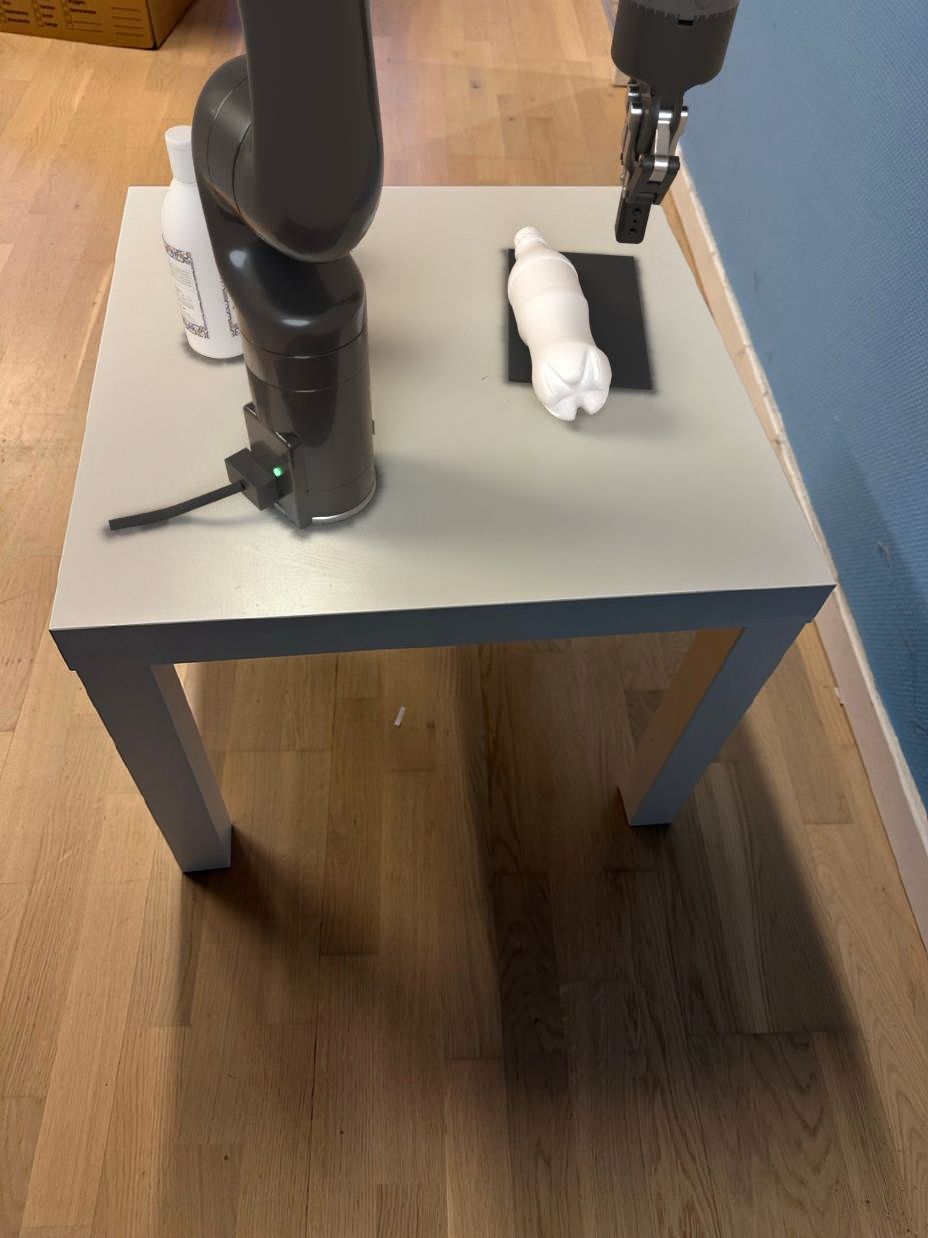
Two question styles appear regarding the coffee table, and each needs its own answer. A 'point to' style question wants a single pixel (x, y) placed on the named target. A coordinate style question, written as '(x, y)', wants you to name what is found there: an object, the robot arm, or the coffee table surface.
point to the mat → (599, 319)
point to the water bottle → (556, 329)
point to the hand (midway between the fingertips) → (627, 238)
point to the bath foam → (195, 258)
